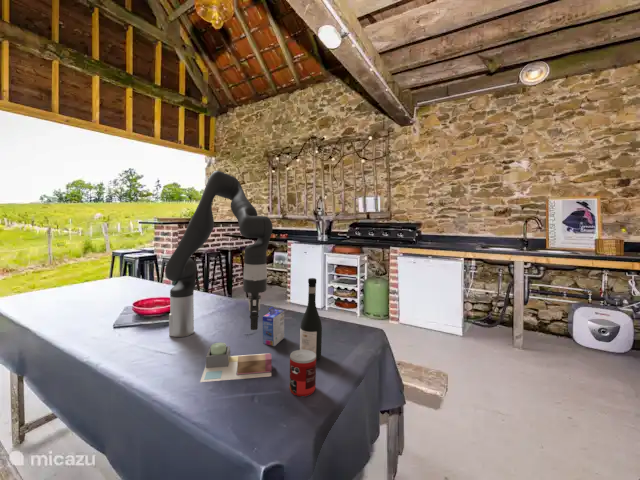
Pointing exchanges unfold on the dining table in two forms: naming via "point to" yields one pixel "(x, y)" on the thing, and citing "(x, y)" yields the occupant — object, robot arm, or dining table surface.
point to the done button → (218, 349)
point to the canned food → (302, 372)
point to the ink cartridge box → (273, 327)
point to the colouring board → (230, 372)
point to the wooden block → (254, 363)
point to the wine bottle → (311, 324)
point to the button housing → (218, 359)
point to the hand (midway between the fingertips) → (254, 324)
